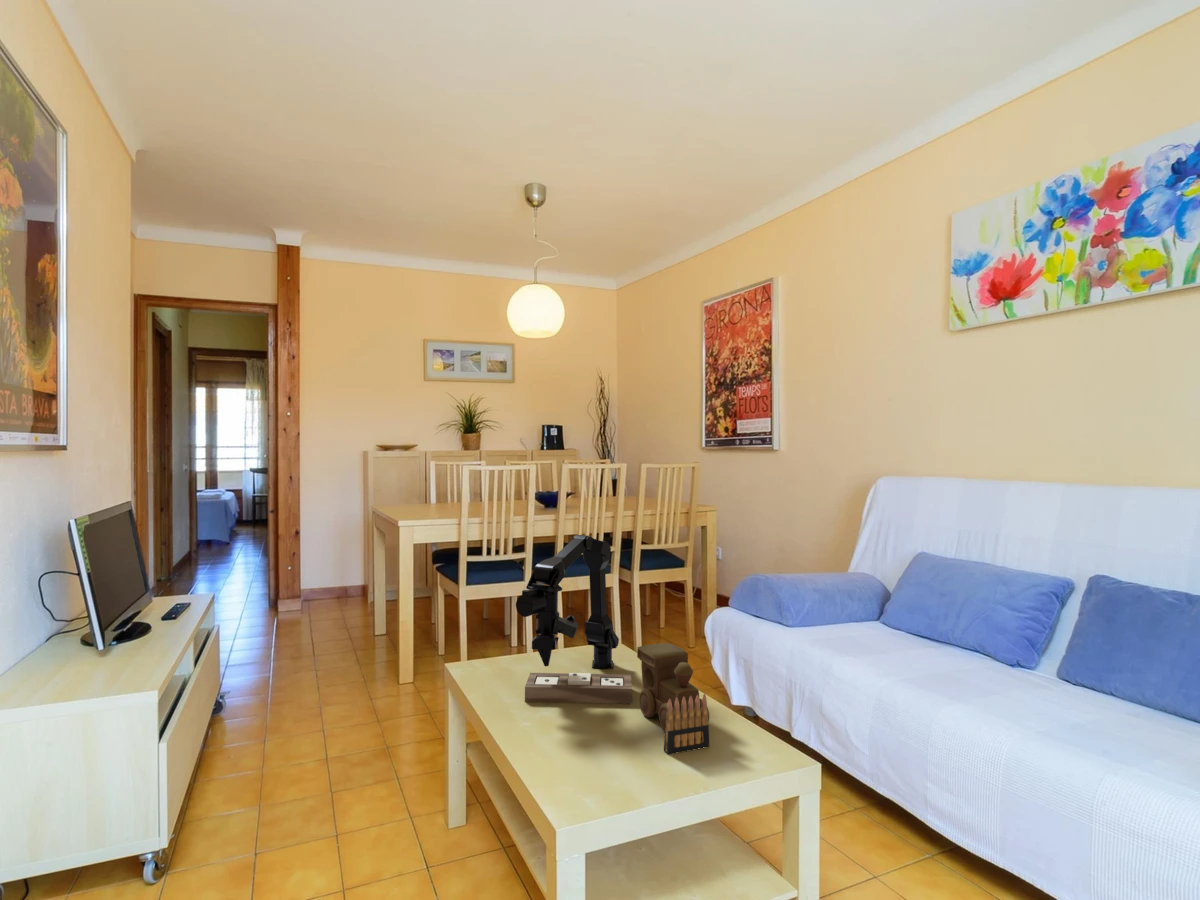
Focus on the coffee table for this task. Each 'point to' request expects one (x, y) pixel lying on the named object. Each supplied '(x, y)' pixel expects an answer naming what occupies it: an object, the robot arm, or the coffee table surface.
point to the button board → (578, 690)
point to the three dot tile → (612, 681)
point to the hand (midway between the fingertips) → (546, 666)
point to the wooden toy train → (665, 679)
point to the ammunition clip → (686, 726)
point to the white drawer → (547, 680)
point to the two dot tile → (579, 679)
